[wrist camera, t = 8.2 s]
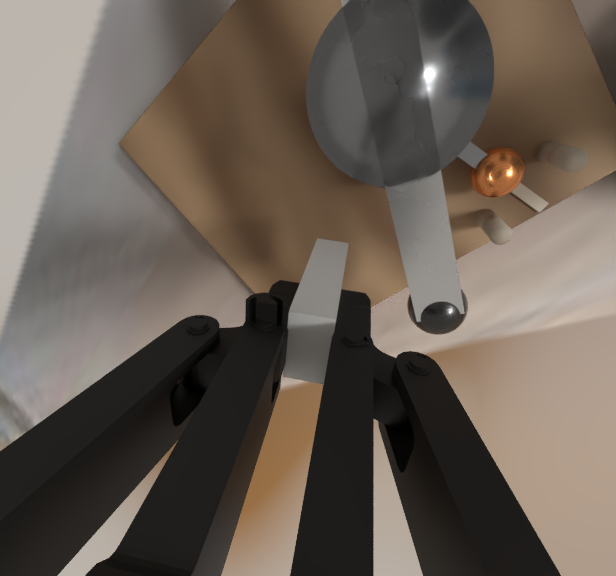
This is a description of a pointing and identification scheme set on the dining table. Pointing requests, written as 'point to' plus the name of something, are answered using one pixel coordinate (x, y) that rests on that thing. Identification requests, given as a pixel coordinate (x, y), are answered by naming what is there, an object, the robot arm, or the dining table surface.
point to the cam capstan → (411, 127)
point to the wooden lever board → (332, 181)
